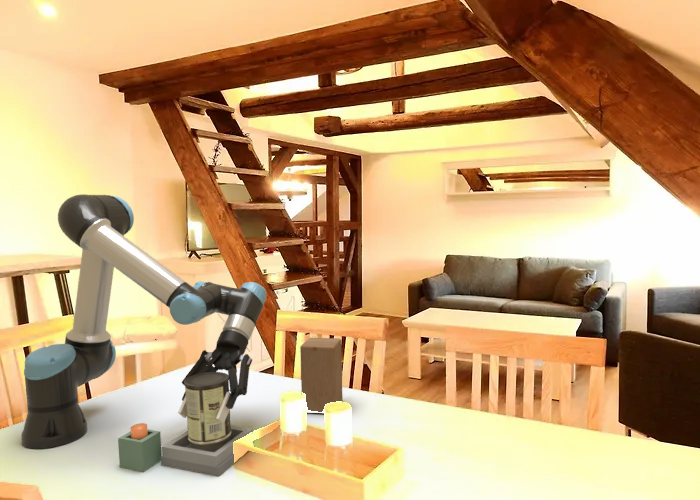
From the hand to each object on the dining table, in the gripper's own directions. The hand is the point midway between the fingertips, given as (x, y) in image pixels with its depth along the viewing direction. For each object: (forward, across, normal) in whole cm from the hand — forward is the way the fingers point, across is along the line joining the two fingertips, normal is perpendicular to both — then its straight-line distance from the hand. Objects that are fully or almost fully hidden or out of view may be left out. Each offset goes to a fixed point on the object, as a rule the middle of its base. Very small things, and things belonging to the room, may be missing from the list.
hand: (200, 418), depth 122 cm
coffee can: (+2, 0, -6) cm, 6 cm away
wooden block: (-20, -14, -35) cm, 43 cm away
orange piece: (+9, +13, -1) cm, 16 cm away
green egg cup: (+11, +13, -3) cm, 18 cm away
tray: (+5, 0, -10) cm, 11 cm away
